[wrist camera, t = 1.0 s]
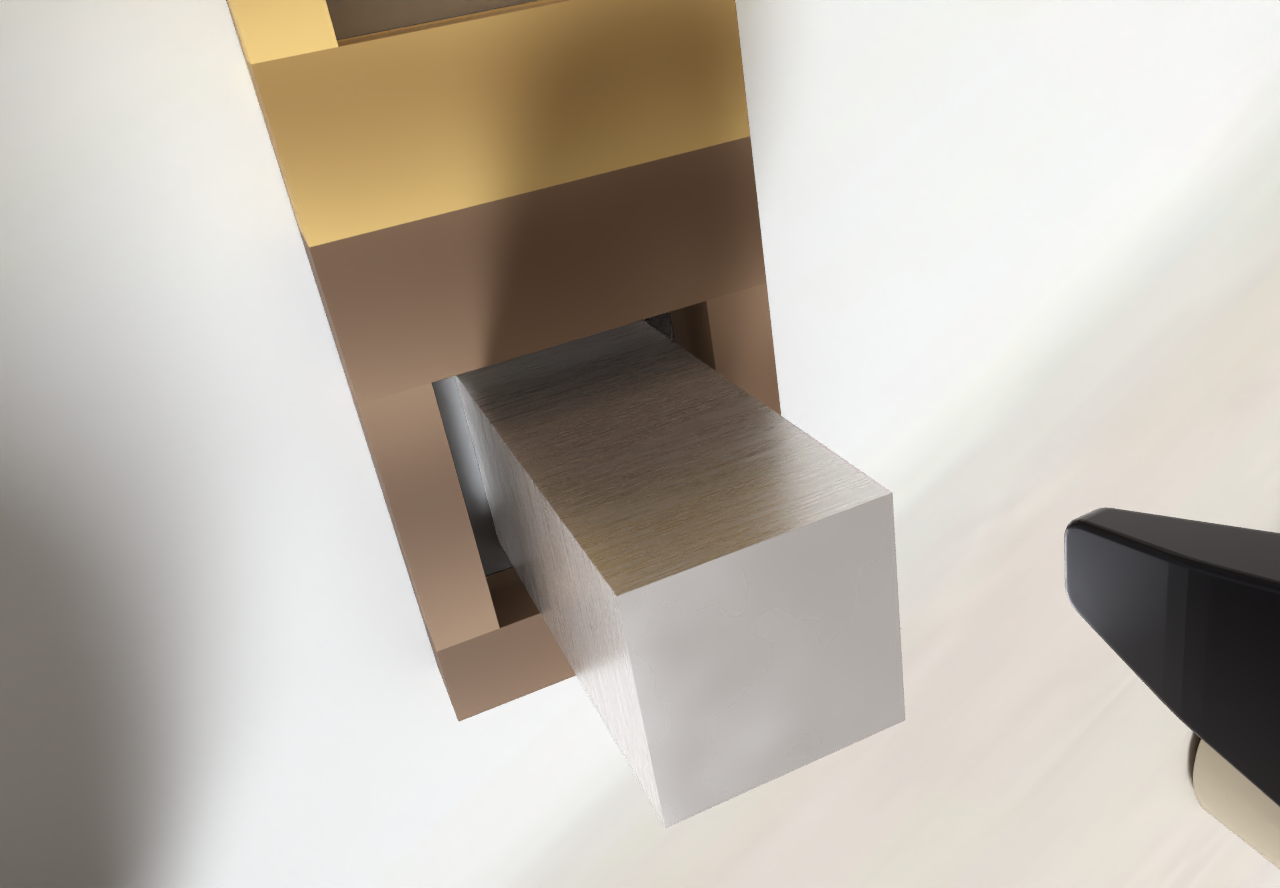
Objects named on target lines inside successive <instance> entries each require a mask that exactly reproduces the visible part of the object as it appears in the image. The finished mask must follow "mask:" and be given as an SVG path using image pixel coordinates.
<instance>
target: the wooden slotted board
mask: <svg viewBox="0 0 1280 888" xmlns="http://www.w3.org/2000/svg"><path fill="white" fill-rule="evenodd" d="M226 1H227V4H228V7H229V11H230V14H231V17H232V20H233V23H234V26H235V29H236V33H237V36H238V39H239V42H240V45H241V48H242V52H243V55H244V58H245V61H246V64H247V67H248V70H249V74H250V77H251V80H252V83H253V86H254V89H255V92H256V96H257V99H258V102H259V105H260V108H261V111H262V114H263V118H264V121H265V124H266V127H267V130H268V133H269V137H270V140H271V143H272V146H273V149H274V152H275V155H276V159H277V162H278V165H279V168H280V171H281V174H282V177H283V181H284V184H285V187H286V190H287V193H288V196H289V199H290V203H291V206H292V209H293V212H294V215H295V218H296V221H297V225H298V228H299V231H300V234H301V237H302V240H303V244H304V247H305V250H306V253H307V256H308V259H309V262H310V266H311V269H312V272H313V275H314V278H315V281H316V284H317V288H318V291H319V294H320V297H321V300H322V303H323V306H324V310H325V313H326V316H327V319H328V322H329V325H330V329H331V332H332V335H333V338H334V341H335V344H336V347H337V351H338V354H339V357H340V360H341V363H342V366H343V369H344V373H345V376H346V379H347V382H348V385H349V388H350V391H351V395H352V398H353V401H354V404H355V407H356V410H357V414H358V417H359V420H360V423H361V426H362V429H363V432H364V436H365V439H366V442H367V445H368V448H369V451H370V454H371V458H372V461H373V464H374V467H375V470H376V473H377V476H378V480H379V483H380V486H381V489H382V492H383V495H384V499H385V502H386V505H387V508H388V511H389V514H390V517H391V521H392V524H393V527H394V530H395V533H396V536H397V539H398V543H399V546H400V549H401V552H402V555H403V558H404V561H405V565H406V568H407V571H408V574H409V577H410V580H411V584H412V587H413V590H414V593H415V596H416V599H417V602H418V606H419V609H420V612H421V615H422V618H423V621H424V624H425V628H426V631H427V634H428V637H429V640H430V643H431V646H432V650H433V653H434V656H435V659H436V662H437V665H438V668H439V671H440V674H441V676H442V679H443V682H444V684H445V687H446V689H447V692H448V695H449V697H450V700H451V703H452V705H453V708H454V710H455V713H456V716H457V718H458V721H461V720H464V719H466V718H469V717H472V716H474V715H477V714H479V713H482V712H484V711H487V710H489V709H492V708H494V707H497V706H499V705H502V704H504V703H507V702H510V701H512V700H515V699H517V698H520V697H522V696H525V695H527V694H530V693H532V692H535V691H537V690H540V689H542V688H545V687H548V686H550V685H553V684H555V683H558V682H560V681H563V680H565V679H568V678H570V677H573V676H575V675H576V674H575V672H574V670H573V669H572V667H571V665H570V663H569V662H568V660H567V658H566V657H565V655H564V653H563V651H562V650H561V648H560V646H559V645H558V643H557V641H556V639H555V638H554V636H553V634H552V632H551V631H550V629H549V627H548V626H547V624H546V622H545V620H544V619H543V617H542V615H541V614H540V612H539V610H538V608H537V607H536V605H535V603H534V602H533V600H532V598H531V596H530V595H529V593H528V591H527V589H526V588H525V586H524V584H523V583H522V581H521V579H520V577H519V576H518V574H517V572H516V571H515V569H514V567H512V568H509V569H506V570H504V571H501V572H498V573H495V574H492V575H490V576H487V577H485V573H484V570H483V566H482V563H481V559H480V555H479V552H478V548H477V545H476V541H475V537H474V534H473V530H472V527H471V523H470V519H469V516H468V512H467V508H466V505H465V501H464V498H463V494H462V490H461V487H460V483H459V480H458V476H457V472H456V469H455V465H454V462H453V458H452V454H451V451H450V447H449V444H448V440H447V436H446V433H445V429H444V426H443V422H442V418H441V415H440V411H439V407H438V404H437V400H436V397H435V393H434V389H433V386H432V382H436V381H439V380H442V379H446V378H449V377H452V376H456V375H459V374H462V373H466V372H469V371H473V370H476V369H479V368H483V367H486V366H489V365H493V364H496V363H499V362H503V361H506V360H509V359H513V358H516V357H520V356H523V355H526V354H530V353H533V352H536V351H540V350H543V349H546V348H550V347H553V346H556V345H560V344H563V343H566V342H570V341H573V340H577V339H580V338H583V337H587V336H590V335H593V334H597V333H600V332H603V331H607V330H610V329H613V328H617V327H620V326H624V325H627V324H630V323H634V322H637V321H640V320H644V319H647V318H650V317H654V316H657V315H660V314H664V313H667V312H670V315H671V321H672V328H673V334H674V340H675V343H676V344H678V345H679V346H680V347H682V348H683V349H685V350H686V351H688V352H689V353H691V354H692V355H694V356H695V357H696V358H698V359H699V360H701V361H702V362H704V363H705V364H707V365H708V366H709V367H711V368H712V369H714V370H715V371H717V372H718V373H720V374H721V375H723V376H724V377H725V378H727V379H728V380H730V381H731V382H733V383H734V384H736V385H737V386H738V387H740V388H741V389H743V390H744V391H746V392H747V393H749V394H750V395H752V396H753V397H754V398H756V399H757V400H759V401H760V402H762V403H763V404H765V405H766V406H767V407H769V408H770V409H772V410H773V411H775V412H776V413H778V414H779V415H781V411H780V402H779V393H778V383H777V374H776V365H775V356H774V347H773V338H772V329H771V320H770V311H769V302H768V293H767V284H766V275H765V266H764V257H763V248H762V239H761V229H760V220H759V211H758V202H757V193H756V184H755V175H754V166H753V157H752V148H751V139H750V130H749V121H748V112H747V103H746V94H745V85H744V76H743V66H742V57H741V48H740V39H739V30H738V21H737V12H736V3H735V0H539V1H533V2H528V3H523V4H518V5H513V6H508V7H503V8H498V9H493V10H488V11H483V12H478V13H473V14H468V15H463V16H458V17H453V18H448V19H443V20H438V21H433V22H427V23H422V24H417V25H412V26H407V27H402V28H397V29H392V30H387V31H382V32H377V33H372V34H367V35H362V36H357V37H352V38H347V39H342V40H336V36H335V32H334V29H333V25H332V21H331V18H330V14H329V11H328V7H327V3H326V0H226Z"/></svg>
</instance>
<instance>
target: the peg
mask: <svg viewBox="0 0 1280 888" xmlns="http://www.w3.org/2000/svg"><path fill="white" fill-rule="evenodd" d="M455 379H456V382H457V386H458V390H459V394H460V397H461V401H462V405H463V409H464V413H465V416H466V420H467V424H468V428H469V431H470V435H471V439H472V443H473V447H474V450H475V454H476V458H477V462H478V465H479V469H480V473H481V477H482V480H483V484H484V488H485V492H486V496H487V499H488V503H489V507H490V511H491V514H492V518H493V522H494V526H495V530H496V533H497V537H498V541H499V543H500V545H501V547H502V548H503V550H504V552H505V553H506V555H507V557H508V559H509V560H510V562H511V564H512V565H513V567H514V569H515V571H516V572H517V574H518V576H519V577H520V579H521V581H522V583H523V584H524V586H525V588H526V589H527V591H528V593H529V595H530V596H531V598H532V600H533V602H534V603H535V605H536V607H537V608H538V610H539V612H540V614H541V615H542V617H543V619H544V620H545V622H546V624H547V626H548V627H549V629H550V631H551V632H552V634H553V636H554V638H555V639H556V641H557V643H558V645H559V646H560V648H561V650H562V651H563V653H564V655H565V657H566V658H567V660H568V662H569V663H570V665H571V667H572V669H573V670H574V672H575V674H576V675H577V677H578V679H579V681H580V682H581V684H582V686H583V687H584V689H585V691H586V693H587V694H588V696H589V698H590V700H591V701H592V703H593V705H594V706H595V708H596V710H597V712H598V713H599V715H600V717H601V718H602V720H603V722H604V724H605V725H606V727H607V729H608V730H609V732H610V734H611V736H612V737H613V739H614V741H615V742H616V744H617V746H618V748H619V749H620V751H621V753H622V755H623V756H624V758H625V760H626V761H627V763H628V765H629V767H630V768H631V770H632V772H633V773H634V775H635V777H636V779H637V780H638V782H639V784H640V785H641V787H642V789H643V791H644V792H645V794H646V796H647V798H648V799H649V801H650V803H651V804H652V806H653V808H654V810H655V811H656V813H657V815H658V816H659V818H660V820H661V822H662V823H663V825H664V827H665V828H667V827H669V826H671V825H674V824H676V823H678V822H680V821H682V820H685V819H687V818H689V817H691V816H694V815H696V814H698V813H700V812H702V811H705V810H707V809H709V808H711V807H714V806H716V805H718V804H720V803H722V802H725V801H727V800H729V799H731V798H733V797H736V796H738V795H740V794H742V793H745V792H747V791H749V790H751V789H753V788H756V787H758V786H760V785H762V784H765V783H767V782H769V781H771V780H773V779H776V778H778V777H780V776H782V775H785V774H787V773H789V772H791V771H793V770H796V769H798V768H800V767H802V766H805V765H807V764H809V763H811V762H813V761H816V760H818V759H820V758H822V757H824V756H827V755H829V754H831V753H833V752H836V751H838V750H840V749H842V748H844V747H847V746H849V745H851V744H853V743H856V742H858V741H860V740H862V739H864V738H867V737H869V736H871V735H873V734H876V733H878V732H880V731H882V730H884V729H887V728H889V727H891V726H893V725H896V724H898V723H900V722H902V721H904V720H905V706H904V688H903V671H902V653H901V636H900V618H899V601H898V583H897V566H896V549H895V531H894V514H893V496H892V492H891V491H889V490H888V489H886V488H885V487H884V486H882V485H881V484H879V483H878V482H876V481H875V480H873V479H872V478H870V477H869V476H868V475H866V474H865V473H863V472H862V471H860V470H859V469H857V468H856V467H855V466H853V465H852V464H850V463H849V462H847V461H846V460H844V459H843V458H841V457H840V456H839V455H837V454H836V453H834V452H833V451H831V450H830V449H828V448H827V447H826V446H824V445H823V444H821V443H820V442H818V441H817V440H815V439H814V438H812V437H811V436H810V435H808V434H807V433H805V432H804V431H802V430H801V429H799V428H798V427H797V426H795V425H794V424H792V423H791V422H789V421H788V420H786V419H785V418H783V417H782V416H781V415H779V414H778V413H776V412H775V411H773V410H772V409H770V408H769V407H767V406H766V405H765V404H763V403H762V402H760V401H759V400H757V399H756V398H754V397H753V396H752V395H750V394H749V393H747V392H746V391H744V390H743V389H741V388H740V387H738V386H737V385H736V384H734V383H733V382H731V381H730V380H728V379H727V378H725V377H724V376H723V375H721V374H720V373H718V372H717V371H715V370H714V369H712V368H711V367H709V366H708V365H707V364H705V363H704V362H702V361H701V360H699V359H698V358H696V357H695V356H694V355H692V354H691V353H689V352H688V351H686V350H685V349H683V348H682V347H680V346H679V345H678V344H676V343H675V342H673V341H672V340H670V339H669V338H667V337H666V336H665V335H663V334H662V333H660V332H659V331H657V330H656V329H654V328H653V327H651V326H650V325H649V324H647V323H646V322H644V321H643V320H640V321H637V322H634V323H630V324H627V325H624V326H620V327H617V328H613V329H610V330H607V331H603V332H600V333H597V334H593V335H590V336H587V337H583V338H580V339H577V340H573V341H570V342H566V343H563V344H560V345H556V346H553V347H550V348H546V349H543V350H540V351H536V352H533V353H530V354H526V355H523V356H520V357H516V358H513V359H509V360H506V361H503V362H499V363H496V364H493V365H489V366H486V367H483V368H479V369H476V370H473V371H469V372H466V373H462V374H459V375H456V376H455Z"/></svg>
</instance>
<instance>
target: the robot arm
mask: <svg viewBox="0 0 1280 888" xmlns="http://www.w3.org/2000/svg"><path fill="white" fill-rule="evenodd" d="M1064 544H1065V589H1066V592H1067V596H1068V598H1069V600H1070V602H1071V604H1072V605H1073V607H1074V608H1075V610H1076V611H1077V612H1078V613H1079V614H1080V615H1081V617H1082V618H1083V619H1084V620H1085V621H1086V622H1087V623H1088V624H1089V625H1090V626H1091V627H1092V628H1093V629H1094V630H1095V631H1096V632H1097V633H1098V634H1099V636H1100V637H1101V638H1102V639H1103V640H1104V641H1105V642H1106V643H1107V644H1108V645H1109V646H1110V647H1111V648H1112V649H1113V650H1114V651H1115V652H1116V653H1117V655H1118V656H1119V657H1120V658H1121V659H1122V660H1123V661H1124V662H1125V663H1126V664H1127V665H1128V666H1129V667H1130V668H1131V669H1132V670H1133V671H1134V672H1135V674H1136V675H1137V676H1138V677H1139V678H1140V679H1141V680H1142V681H1143V682H1144V683H1145V684H1146V685H1147V686H1148V687H1149V688H1150V689H1151V690H1152V691H1153V693H1154V694H1155V695H1156V696H1157V697H1158V698H1159V699H1160V700H1161V701H1162V702H1163V703H1164V704H1165V705H1166V706H1167V707H1168V708H1169V709H1170V710H1171V711H1172V712H1173V713H1174V714H1175V715H1176V716H1177V717H1178V718H1179V719H1180V720H1181V721H1182V722H1183V723H1184V724H1186V725H1187V726H1188V727H1189V728H1190V729H1191V730H1192V731H1193V732H1194V733H1195V734H1196V735H1198V736H1199V737H1200V738H1201V739H1202V740H1203V741H1204V742H1205V743H1207V744H1208V745H1209V746H1210V747H1211V748H1212V749H1213V750H1215V751H1216V752H1217V753H1218V754H1219V755H1220V756H1221V757H1223V758H1224V759H1225V760H1226V761H1227V762H1228V763H1229V764H1231V765H1232V766H1233V767H1234V768H1235V769H1236V770H1237V771H1239V772H1240V773H1241V774H1242V775H1243V776H1244V777H1245V778H1247V779H1248V780H1249V781H1250V782H1251V783H1252V784H1253V785H1255V786H1256V787H1257V788H1258V789H1259V790H1260V791H1262V792H1263V793H1264V794H1265V795H1266V796H1267V797H1268V798H1270V799H1271V800H1272V801H1273V802H1274V803H1275V804H1276V805H1278V806H1279V807H1280V533H1274V532H1267V531H1261V530H1254V529H1247V528H1241V527H1234V526H1227V525H1221V524H1214V523H1207V522H1201V521H1194V520H1187V519H1181V518H1174V517H1167V516H1161V515H1154V514H1148V513H1141V512H1134V511H1128V510H1121V509H1114V508H1100V509H1096V510H1094V511H1092V512H1090V513H1087V514H1085V515H1083V516H1081V517H1079V518H1076V519H1074V520H1073V521H1071V522H1070V523H1069V524H1068V526H1067V528H1066V530H1065V536H1064Z"/></svg>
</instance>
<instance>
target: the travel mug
mask: <svg viewBox="0 0 1280 888" xmlns="http://www.w3.org/2000/svg"><path fill="white" fill-rule="evenodd" d="M1193 787H1194V792H1195V795H1196V798H1197V801H1198V802H1199V804H1200V806H1201V807H1202V808H1203V809H1204V810H1205V811H1206V812H1208V813H1209V814H1210V815H1211V816H1213V817H1214V818H1215V819H1217V820H1218V821H1219V822H1220V823H1222V824H1223V825H1224V826H1225V827H1227V828H1228V829H1229V830H1230V831H1232V832H1233V833H1234V834H1236V835H1237V836H1238V837H1239V838H1241V839H1242V840H1243V841H1244V842H1246V843H1247V844H1248V845H1250V846H1251V847H1252V848H1253V849H1255V850H1256V851H1257V852H1258V853H1260V854H1261V855H1262V856H1263V857H1265V858H1266V859H1267V860H1269V861H1270V862H1271V863H1272V864H1274V865H1275V866H1276V867H1277V868H1279V869H1280V807H1279V806H1278V805H1276V804H1275V803H1274V802H1273V801H1272V800H1271V799H1270V798H1268V797H1267V796H1266V795H1265V794H1264V793H1263V792H1262V791H1260V790H1259V789H1258V788H1257V787H1256V786H1255V785H1253V784H1252V783H1251V782H1250V781H1249V780H1248V779H1247V778H1245V777H1244V776H1243V775H1242V774H1241V773H1240V772H1239V771H1237V770H1236V769H1235V768H1234V767H1233V766H1232V765H1231V764H1229V763H1228V762H1227V761H1226V760H1225V759H1224V758H1223V757H1221V756H1220V755H1219V754H1218V753H1217V752H1216V751H1215V750H1213V749H1212V748H1211V747H1210V746H1209V745H1208V744H1207V743H1205V742H1204V741H1203V740H1202V739H1200V742H1199V746H1198V750H1197V754H1196V759H1195V763H1194V770H1193Z"/></svg>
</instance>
